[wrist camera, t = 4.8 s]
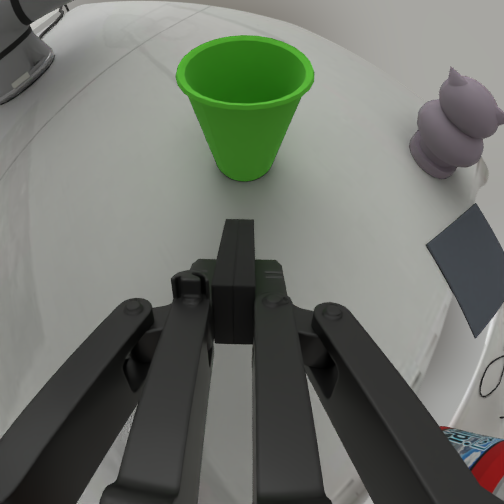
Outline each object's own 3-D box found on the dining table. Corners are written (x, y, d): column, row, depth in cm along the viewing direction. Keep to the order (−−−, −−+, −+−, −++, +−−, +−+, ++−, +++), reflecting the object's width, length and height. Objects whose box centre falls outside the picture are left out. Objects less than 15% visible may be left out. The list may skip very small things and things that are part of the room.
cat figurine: (462, 159, 28) (513, 100, 17) (453, 199, 26) (519, 137, 14) (410, 119, 29) (450, 50, 18) (394, 153, 27) (444, 73, 16)
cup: (310, 155, 26) (338, 65, 16) (252, 221, 24) (258, 130, 14) (238, 114, 28) (236, 25, 18) (176, 168, 26) (147, 76, 15)
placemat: (425, 245, 24) (426, 244, 24) (475, 203, 26) (475, 202, 26) (474, 338, 21) (476, 338, 21) (516, 281, 23) (517, 280, 23)
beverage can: (456, 416, 18) (549, 429, 7) (446, 474, 16) (526, 506, 5) (399, 434, 18) (494, 471, 7) (390, 495, 16) (464, 551, 5)
